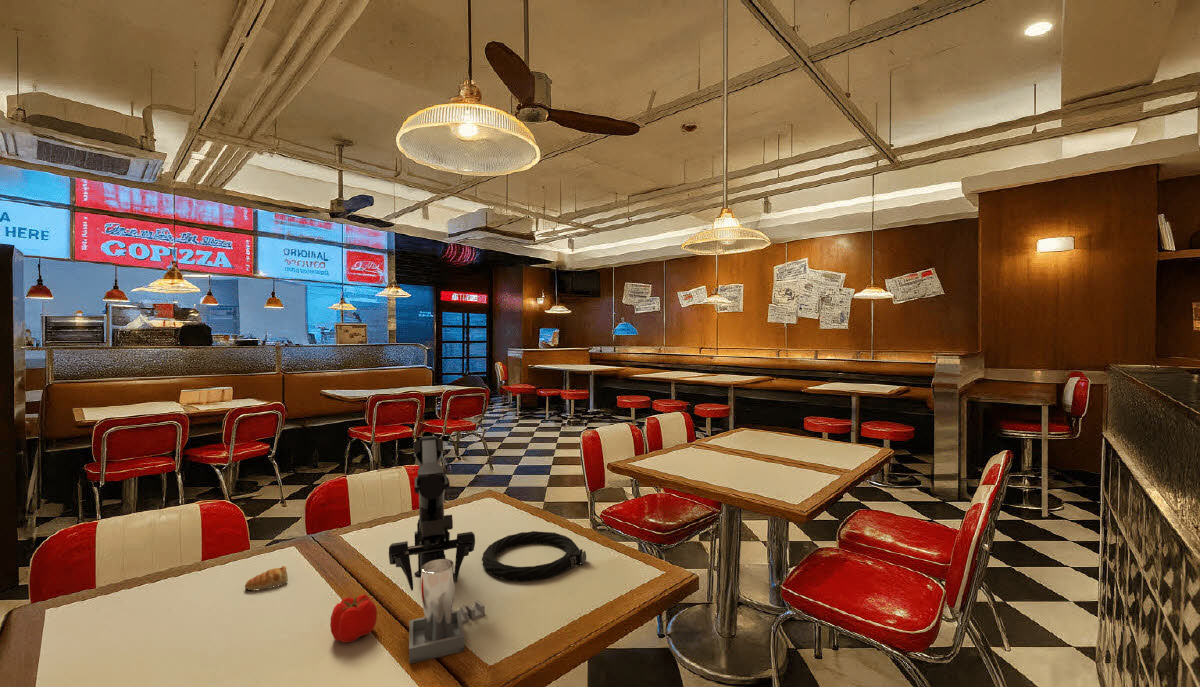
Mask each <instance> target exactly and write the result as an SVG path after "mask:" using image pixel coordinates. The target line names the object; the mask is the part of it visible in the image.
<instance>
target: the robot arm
mask: <svg viewBox="0 0 1200 687" xmlns="http://www.w3.org/2000/svg"><path fill="white" fill-rule="evenodd" d="M442 455H444V440H443V439H442V438H439V436H436V435H431V436H428V435H427V436H422V437H419V439H418V440H415V441H413V458H415V457H416V459H415V460H416V466H418V467H419V468H418V469H417V476H415V477H414V494H417V495H418V506H419V507H418V508H419V509H418V511H419V512H418V513H419V518H418V519H417V524H416V527H417V528H416V530H417V531H414V545H410V546H409V541H408V540H405V541H400V542H399V541H398V542H394V543H390V545H389V547H388V560H389V564H390V565H395V567H396V568H400V569H401V570H402V572H403V573H404V575H405V578H406V581H407V583H408V585H409V589H410V591H411V592H413V591H414V580H413V571H412V566H411V558H410V556H414V555H415V556H417V565H418V567H417V571H415V572H414V576H418V577H421V567H422V566H423V565H424V564H425V563H427V562H429V561H432V560H436V559H447V558H446V554H445V551H448V550H451V549H456V550H455V564H454V573H455V584H456V583H457V582H458V579H459V578H458V577H459V574H460V570H461V566H462V564H463V560H464V558H465V557H467V556H469V553H471V552H473V551H475V546H476V537H475V533H474V532H473V531H467V532H466V531H465V532H459V533H456V539H450V538H451V536H450V535H451V533H450V530H453V527H454V525H453V524H454V523H453V521H454V520H453V514H446V515H445V509H444V508H445V507H444V505H445V504H444V501H445V492H446V491H447V490H448V488H450V484H451V483H450V482H451V481H450V479H449V478H448V475H447V474H446V473H444V467H443V466H442V465H440V464H441V462H442V461H441V457H442ZM448 530H449V531H448Z"/></svg>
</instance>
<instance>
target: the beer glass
mask: <svg viewBox="0 0 1200 687" xmlns="http://www.w3.org/2000/svg"><path fill="white" fill-rule="evenodd" d="M419 583H420V584H419V585H420V586H419V588H420V599H421V605H422V610H423V615H424V617H425V631H424V641H425V642H426V643H428V642H432V641H437V640H441V639H446V638H450V637H452V636H453V634H454V630H453V625H452V618H451V616H452V609H453V607H454V599H455V593H456V592H455V591H456V583H455V564H454V561H453V560H452V559H448V558H446V559H436V560H432V561H429V562H427V563H425V564H424V565H423V566H422V567H421V576H420V582H419Z"/></svg>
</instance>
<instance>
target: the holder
mask: <svg viewBox="0 0 1200 687" xmlns="http://www.w3.org/2000/svg"><path fill="white" fill-rule="evenodd" d="M460 612H461V609H458V610H455V611H452V616H451V618H452V625H453V630H454V634H453V636H452V637H450V638H446V639H441V640H437V641H432V642H428V643H426V642H425V641H424V631H425V616H423V617H419V618H414V619H409V626H408V627H409V629H408V630H409V631H408V633H409V634H408V637H409V638H408V664H409V665H411V664H416V663H419V662H424V661H428V660H432V659H437V658H441V657H445V655H446V656H449V654H450V655H454V653H455V654H458V653H462V652H465V633H464V626H463V624H462V620H461V614H460Z"/></svg>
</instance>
